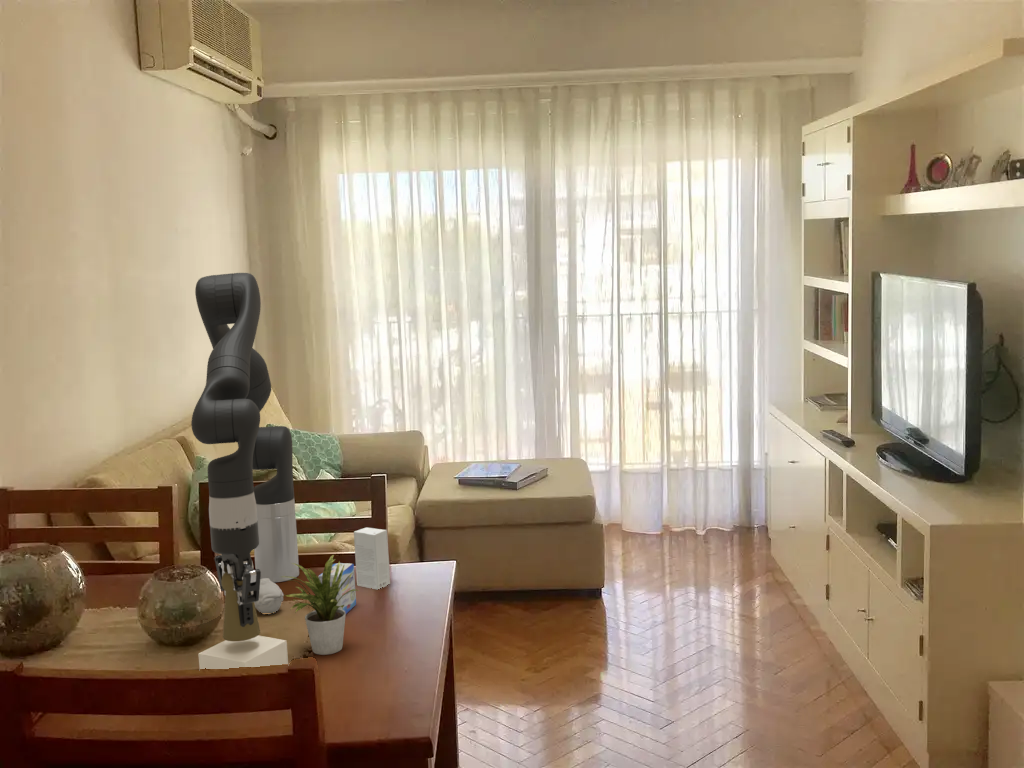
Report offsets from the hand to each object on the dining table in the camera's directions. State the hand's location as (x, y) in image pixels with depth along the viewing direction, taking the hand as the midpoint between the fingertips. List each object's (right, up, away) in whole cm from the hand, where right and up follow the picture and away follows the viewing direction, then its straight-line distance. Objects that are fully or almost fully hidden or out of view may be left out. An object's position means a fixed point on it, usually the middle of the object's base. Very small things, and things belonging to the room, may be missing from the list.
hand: (241, 621), depth 157 cm
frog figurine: (-3, -6, +30) cm, 30 cm away
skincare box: (+15, -4, +44) cm, 47 cm away
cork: (0, -2, 0) cm, 2 cm away
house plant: (+12, -8, +12) cm, 18 cm away
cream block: (0, -9, +1) cm, 9 cm away
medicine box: (+11, -6, +29) cm, 32 cm away
